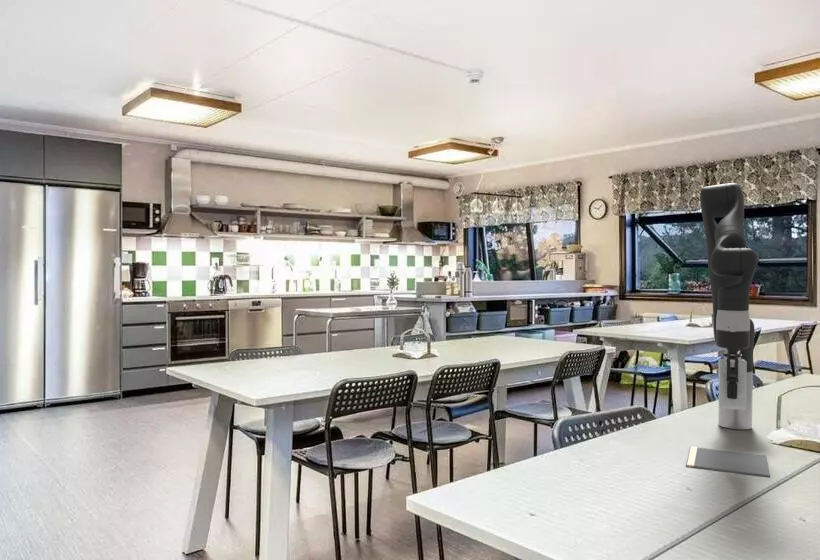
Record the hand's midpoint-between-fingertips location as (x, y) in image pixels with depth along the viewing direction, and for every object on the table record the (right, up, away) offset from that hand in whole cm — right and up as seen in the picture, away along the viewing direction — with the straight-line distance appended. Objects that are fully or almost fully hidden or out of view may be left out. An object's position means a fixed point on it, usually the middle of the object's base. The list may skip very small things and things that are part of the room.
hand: (732, 396), depth 163 cm
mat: (-1, -17, +1) cm, 17 cm away
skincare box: (0, -3, 0) cm, 3 cm away
